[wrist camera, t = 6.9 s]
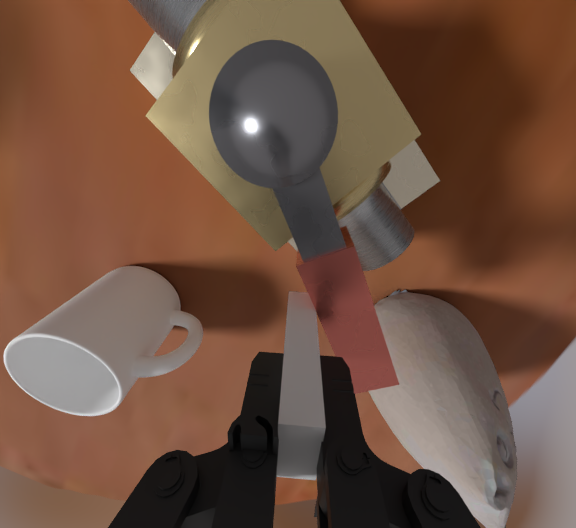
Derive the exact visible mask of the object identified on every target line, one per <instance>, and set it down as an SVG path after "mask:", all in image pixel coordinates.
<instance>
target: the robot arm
mask: <svg viewBox="0 0 576 528" xmlns="http://www.w3.org/2000/svg"><path fill="white" fill-rule="evenodd" d="M316 476H317V489H318V496H317V501H316V506H315V513H314V517H317V525H318V528H480V526H479V525H478V523H477V521H476V520H475V518H474V517H473V515H472V513H471V512H470V510H469V509H468V507H467V505H466V504H465V502H464V501H463V499H462V498H461V496H460V494H459V493H458V492H457V491H456V489H455V488H454V487H453V485H452V484H451V483H450V482H449V481H448V480H446V479H445V478H444V477H443V476H441V475H440V474H439V473H436V472H434V471H431V470H429V469H418V470H416V471H415V472H413V473H412V474H409V473H407V472H405V471H402V470H400V469H398V468H396V467H393V466H391V465H389V464H387V463H385V462H384V461H382V460H381V459H379V458H378V457H377V456H376V455H375V454H374V453H373V452H372V451H371V450H370V448H369V447H368V445H367V443H366V441H365V439H364V436H363V432H362V427H361V422H360V418H359V413H358V408H357V403H356V398H355V393H354V388H353V383H352V378H351V373H350V369H349V367H348V365H347V364H346V362H345V361H344V359H343V358H342V357H333V356H320V352H319V340H318V328H317V316H316V310H315V308H314V305H313V303H312V301H311V299H310V296H309V294H308V293H306V292H293V291H289V296H288V308H287V320H286V333H285V345H284V354H282V353H269V352H259V353H258V354H257V356H256V357H255V358H254V360H253V361H252V364H251V369H250V373H249V378H248V382H247V387H246V392H245V396H244V401H243V406H242V410H241V415H240V416H239V417H238V418H237V419H236V420H235V421H234V422H233V423H232V424H231V426H230V429H229V431H228V443H227V444H225V445H224V446H222V447H221V448H219V449H217V450H214V451H212V452H208V453H205V454H201V455H198V456H194V457H193V456H192V455H191V454H189V453H188V452H187V451H181V450H175V451H172V452H168V453H166V454H164V455H163V456H161V457H160V458H158V459H157V460H156V461H155V462H154V463H153V464H152V465H151V466H150V467H149V469H148V470H147V471H146V473H145V474H144V476H143V477H142V479H141V480H140V482H139V483H138V484H137V486H136V487H135V489H134V490H133V492H132V493H131V495H130V496H129V498H128V499H127V501H126V502H125V504H124V505H123V507H122V508H121V510H120V511H119V512H118V514H117V515H116V517H115V518H114V520H113V521H112V523H111V524H110V526H109V527H108V528H273V519H274V518H273V517H274V506H275V491H276V477H287V478H296V479H309V480H316Z"/></svg>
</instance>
